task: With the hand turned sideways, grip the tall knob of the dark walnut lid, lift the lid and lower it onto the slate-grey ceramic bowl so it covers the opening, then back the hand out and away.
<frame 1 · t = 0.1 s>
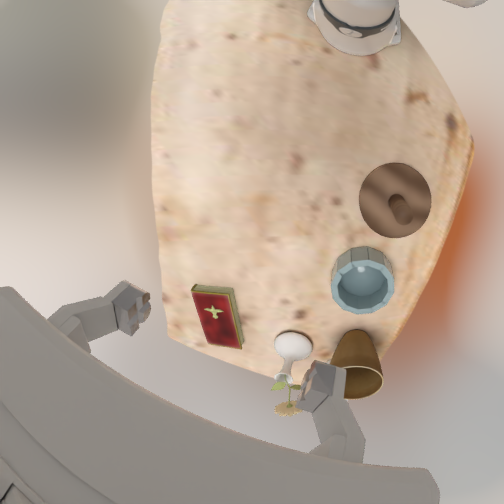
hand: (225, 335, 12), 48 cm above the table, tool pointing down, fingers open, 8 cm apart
walnut lid: (395, 200, 51), on the table
flower in vase: (296, 342, 77), on the table
plant pot: (356, 338, 70), on the table
hardcover book: (222, 313, 81), on the table
ceramic bowl: (362, 274, 60), on the table
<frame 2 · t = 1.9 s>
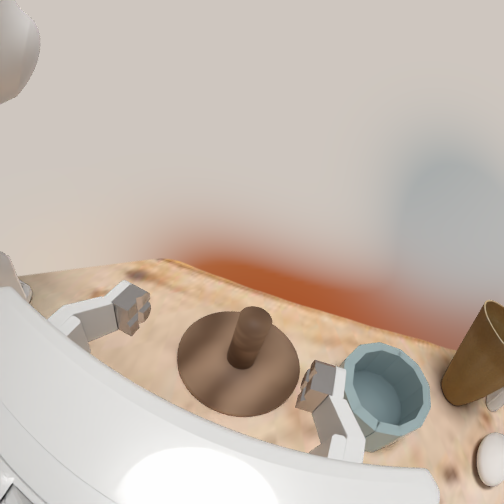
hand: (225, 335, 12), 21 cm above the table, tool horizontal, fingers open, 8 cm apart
walnut lid: (238, 362, 34), on the table
photo printer: (491, 395, 33), on the table
flower in vase: (486, 460, 21), on the table
plant pot: (453, 389, 34), on the table
ceramic bowl: (366, 406, 31), on the table
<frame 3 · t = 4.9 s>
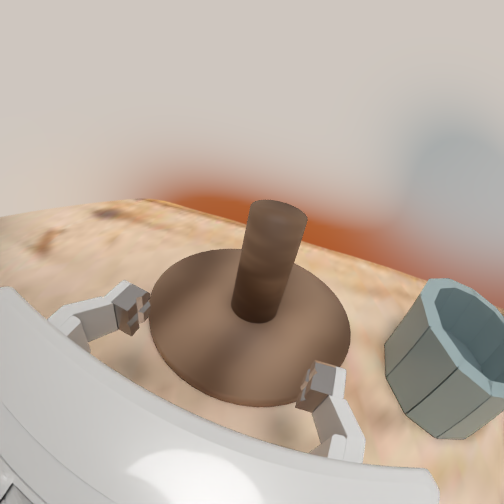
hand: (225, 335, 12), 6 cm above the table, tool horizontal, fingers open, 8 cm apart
walnut lid: (251, 316, 22), on the table
ceramic bowl: (443, 375, 19), on the table
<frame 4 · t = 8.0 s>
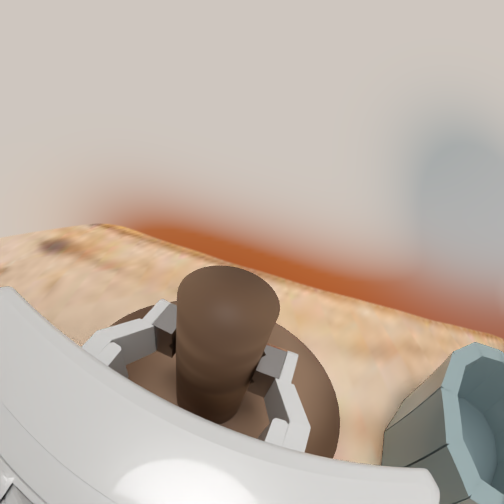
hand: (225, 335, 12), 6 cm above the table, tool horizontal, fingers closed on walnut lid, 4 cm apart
walnut lid: (206, 405, 14), on the table, touching gripper
ceramic bowl: (451, 457, 11), on the table
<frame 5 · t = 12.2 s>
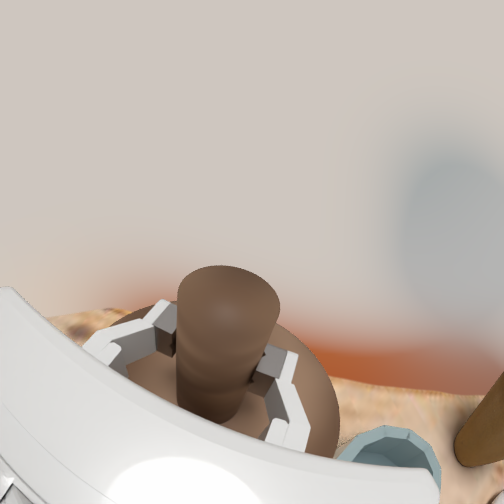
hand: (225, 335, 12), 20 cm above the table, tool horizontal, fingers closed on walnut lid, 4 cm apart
walnut lid: (206, 405, 14), point 14 cm above the table, touching gripper
plant pot: (467, 447, 22), on the table
ceramic bowl: (361, 494, 19), on the table
when the fingers open (13 cm above the table, at t = 16.5 s): walnut lid drops 1 cm, resting on ceramic bowl.
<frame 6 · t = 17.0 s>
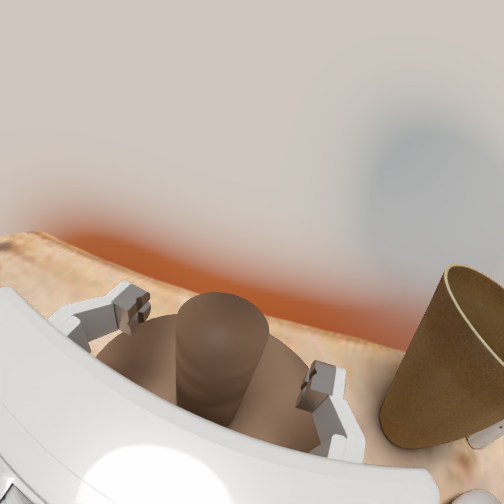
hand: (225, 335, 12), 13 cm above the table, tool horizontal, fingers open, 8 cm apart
walnut lid: (204, 413, 15), point 6 cm above the table, touching ceramic bowl
photo printer: (477, 421, 21), on the table
plant pot: (405, 420, 22), on the table
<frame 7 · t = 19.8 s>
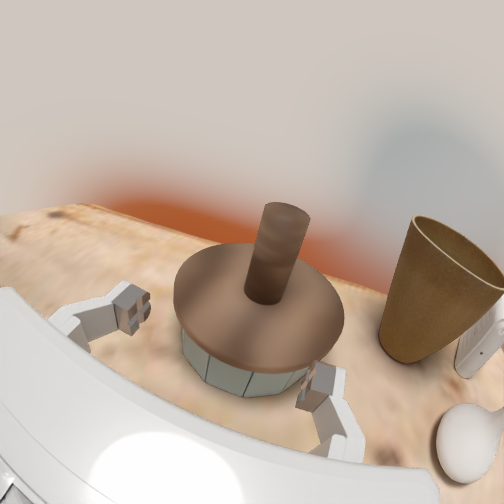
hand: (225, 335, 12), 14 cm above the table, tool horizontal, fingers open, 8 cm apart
walnut lid: (260, 300, 26), point 6 cm above the table, touching ceramic bowl
photo printer: (463, 358, 31), on the table
flower in vase: (456, 443, 19), on the table
plant pot: (399, 343, 32), on the table
ceramic bowl: (247, 339, 29), on the table
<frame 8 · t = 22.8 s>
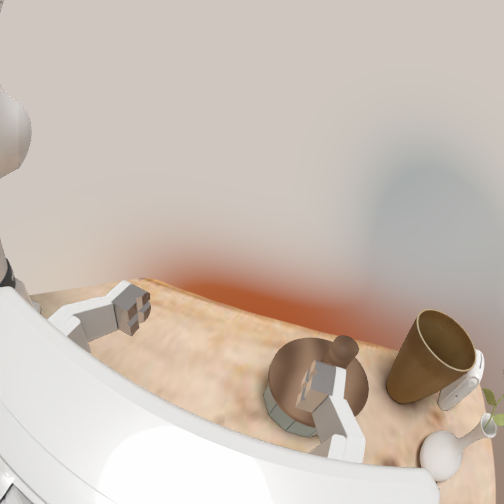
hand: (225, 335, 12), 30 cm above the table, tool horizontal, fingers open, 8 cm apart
walnut lid: (319, 382, 37), point 6 cm above the table, touching ceramic bowl
photo printer: (445, 395, 43), on the table
flower in vase: (434, 455, 30), on the table
plant pot: (400, 389, 44), on the table
ceramic bowl: (305, 399, 40), on the table
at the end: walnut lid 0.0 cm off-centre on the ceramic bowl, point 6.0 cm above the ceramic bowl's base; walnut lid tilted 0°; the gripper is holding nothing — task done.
